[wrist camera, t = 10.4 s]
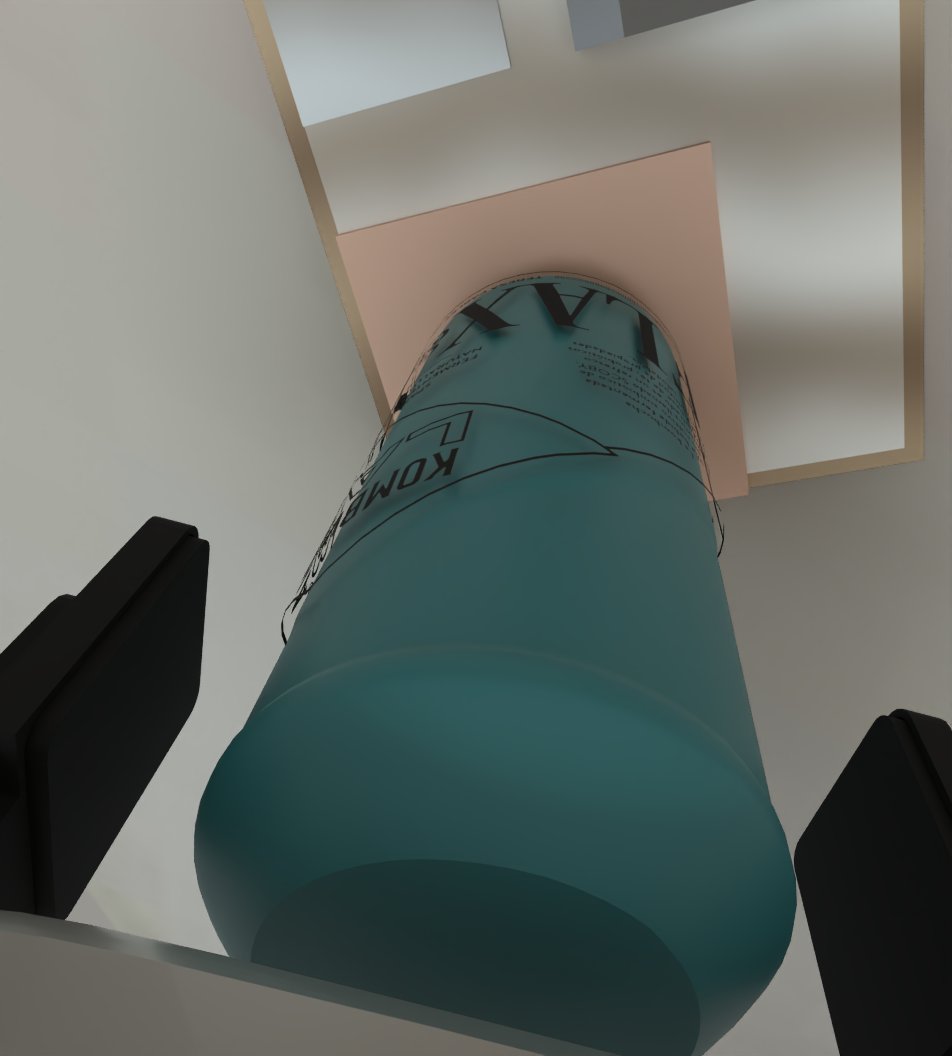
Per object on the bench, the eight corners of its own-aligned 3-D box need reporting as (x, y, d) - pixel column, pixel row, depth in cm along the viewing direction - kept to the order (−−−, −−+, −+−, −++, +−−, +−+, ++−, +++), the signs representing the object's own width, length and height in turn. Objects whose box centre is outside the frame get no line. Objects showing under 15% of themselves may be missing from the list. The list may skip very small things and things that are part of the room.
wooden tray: (916, 450, 23) (975, 526, 19) (423, 530, 26) (396, 608, 22) (912, -671, 13) (1024, -919, 10) (144, -334, 17) (23, -431, 13)
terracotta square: (743, 478, 24) (749, 495, 23) (439, 528, 26) (433, 544, 25) (705, 137, 20) (710, 142, 19) (345, 228, 22) (335, 236, 21)
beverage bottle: (732, 327, 21) (1403, 1738, 4) (593, 529, 24) (595, 1762, 7) (496, 196, 20) (-105, 1239, 3) (386, 424, 23) (-200, 1543, 6)
